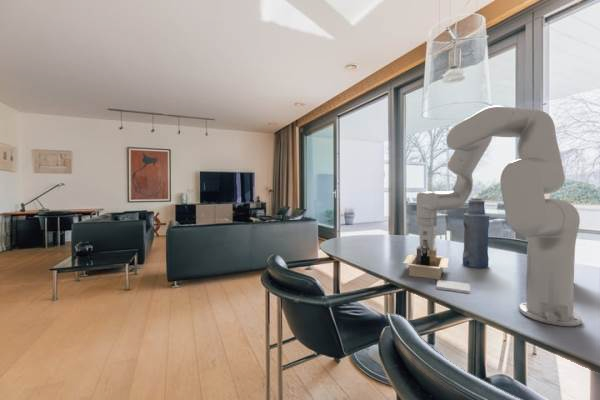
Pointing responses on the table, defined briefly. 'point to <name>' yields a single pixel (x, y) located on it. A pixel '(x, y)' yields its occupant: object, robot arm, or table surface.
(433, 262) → the block
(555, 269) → the robot arm
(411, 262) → the carton
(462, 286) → the felt mat
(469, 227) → the bottle
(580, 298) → the table surface
